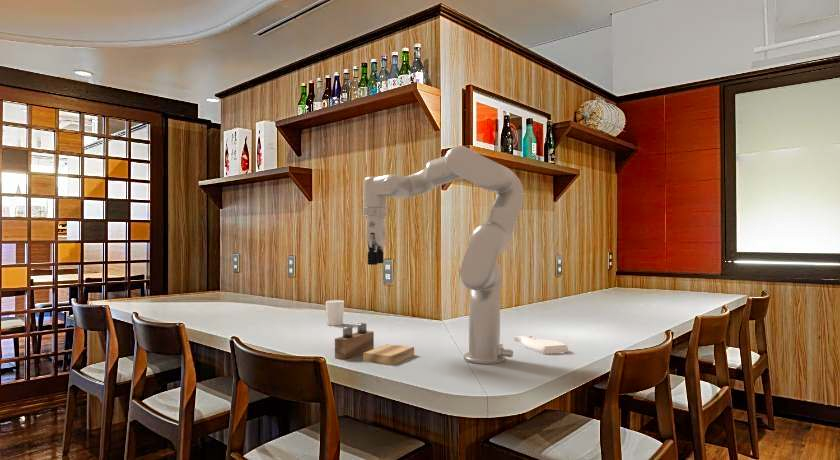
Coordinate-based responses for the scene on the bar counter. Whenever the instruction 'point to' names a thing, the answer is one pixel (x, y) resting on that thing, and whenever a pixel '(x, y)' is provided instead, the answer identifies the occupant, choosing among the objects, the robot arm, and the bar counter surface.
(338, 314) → the white cup
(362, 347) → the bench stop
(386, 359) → the oak plate
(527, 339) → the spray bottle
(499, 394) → the bar counter surface
